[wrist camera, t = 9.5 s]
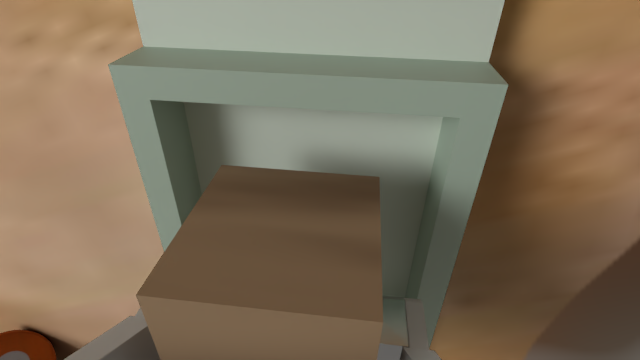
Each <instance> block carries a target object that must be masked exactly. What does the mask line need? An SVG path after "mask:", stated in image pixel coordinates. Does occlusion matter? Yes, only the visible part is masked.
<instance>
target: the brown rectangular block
mask: <svg viewBox="0 0 640 360" xmlns="http://www.w3.org/2000/svg"><path fill="white" fill-rule="evenodd" d="M136 297H137V299H138V302H139V305H140V307H141V310H142V312H143V315H144V318H145V320H146V323H147V326H148V328H149V331H150V333H151V336H152V339H153V341H154V344H155V347H156V349H157V352H158V354H159V357H160V360H377V356H378V350H379V344H380V338H381V332H382V326H383V298H382V258H381V218H380V178H379V177H376V176H362V175H349V174H336V173H323V172H310V171H296V170H283V169H270V168H257V167H244V166H230V165H221V167H220V168H219V170H218V171H217V173H216V174H215V176H214V177H213V179H212V180H211V182H210V183H209V185H208V186H207V188H206V189H205V191H204V192H203V194H202V195H201V197H200V198H199V200H198V202H197V203H196V205H195V206H194V208H193V209H192V211H191V212H190V214H189V215H188V217H187V218H186V220H185V221H184V223H183V224H182V226H181V227H180V229H179V230H178V232H177V234H176V235H175V237H174V238H173V240H172V241H171V243H170V244H169V246H168V247H167V249H166V250H165V252H164V253H163V255H162V256H161V258H160V259H159V261H158V262H157V264H156V265H155V267H154V269H153V270H152V272H151V273H150V275H149V276H148V278H147V279H146V281H145V282H144V284H143V285H142V287H141V288H140V290H139V291H138V293H137V294H136Z"/></svg>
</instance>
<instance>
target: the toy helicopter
mask: <svg viewBox="0 0 640 360" xmlns="http://www.w3.org/2000/svg"><path fill="white" fill-rule="evenodd" d="M0 360H56V354H55V350H54V348H53V346H52V344H51V343H50V341H49V340H48V339H46V338H45V337H44V336H42V335H40V334H38V333H36V332H32V331H27V330H13V331H7V332H3V333H0Z"/></svg>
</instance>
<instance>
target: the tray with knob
mask: <svg viewBox="0 0 640 360" xmlns="http://www.w3.org/2000/svg"><path fill="white" fill-rule="evenodd" d="M132 1H133V5H134V10H135V14H136V18H137V22H138V26H139V30H140V34H141V39H142V43H143V47H141V48H139V49H138V50H136V51H134V52H132V53H130V54H128V55H126V56H124V57H122V58H120V59H118V60H116V61H114V62H112V63H110V64H108V66H109V69H110V72H111V76H112V79H113V82H114V86H115V89H116V93H117V96H118V99H119V103H120V106H121V109H122V113H123V116H124V119H125V123H126V126H127V129H128V133H129V136H130V139H131V143H132V146H133V149H134V153H135V156H136V159H137V163H138V166H139V169H140V173H141V176H142V179H143V183H144V186H145V189H146V193H147V196H148V199H149V203H150V206H151V209H152V213H153V216H154V219H155V223H156V226H157V229H158V233H159V236H160V239H161V243H162V246H163V249H164V252H165V250H166V249H167V247H168V246H169V244H170V243H171V241H172V240H173V238H174V237H175V235H176V234H177V232H178V230H179V229H180V227H181V226H182V224H183V223H184V221H185V220H186V218H187V217H188V215H189V214H190V212H191V211H192V209H193V208H194V206H195V205H196V203H197V202H198V200H199V198H200V197H201V195H202V194H203V192H204V191H205V189H206V188H207V186H208V185H209V183H210V182H211V180H212V179H213V177H214V176H215V174H216V173H217V171H218V170H219V168H220V167H221V165H230V166H244V167H257V168H270V169H283V170H296V171H310V172H323V173H336V174H349V175H362V176H376V177H379V178H380V218H381V258H382V295H383V296H394V297H403V298H411V299H421V301H422V302H423V308H424V315H425V323H426V330H427V337H428V344H429V348H430V344H431V341H432V338H433V334H434V331H435V328H436V324H437V321H438V318H439V314H440V311H441V308H442V304H443V301H444V298H445V294H446V291H447V288H448V284H449V281H450V278H451V274H452V271H453V268H454V264H455V261H456V258H457V254H458V251H459V248H460V244H461V241H462V238H463V234H464V231H465V228H466V224H467V221H468V218H469V214H470V211H471V208H472V204H473V201H474V198H475V194H476V191H477V188H478V185H479V181H480V178H481V175H482V171H483V168H484V165H485V161H486V158H487V155H488V151H489V148H490V145H491V141H492V138H493V135H494V131H495V128H496V125H497V121H498V118H499V115H500V111H501V108H502V105H503V101H504V98H505V95H506V91H507V88H508V84H507V83H506V81H505V80H504V79H503V78H502V77H501V76H500V75H499V73H498V72H497V71H496V70H495V69H494V68H493V67H492V65H491V64H490V63H489V59H490V55H491V51H492V48H493V44H494V40H495V36H496V32H497V29H498V25H499V21H500V17H501V13H502V9H503V6H504V2H505V0H132Z"/></svg>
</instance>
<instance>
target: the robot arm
mask: <svg viewBox="0 0 640 360" xmlns="http://www.w3.org/2000/svg"><path fill="white" fill-rule="evenodd" d="M382 298H383V326H382V332H381V338H380V344H379V350H378V356H377V360H442V359H441V358H440V357H439V356H438V354H437V353H436V352H435V351H433V350H429V344H428V337H427V330H426V323H425V315H424V308H423V302H422V301H421V299H411V298H403V297H394V296H383V295H382ZM64 360H160V357H159V354H158V352H157V349H156V347H155V344H154V341H153V339H152V336H151V333H150V331H149V328H148V326H147V323H146V320H145V318H144V315H143V312H142V310H141V307H140V309H139V310H138V312H137V314H136V315H135V316H129V317H128V318H126V319H125V320H123V321H122V322H120V323H119V324H117V325H115V326H114V327H112V328H111V329H109V330H108V331H106V332H105V333H103V334H102V335H100V336H99V337H97V338H96V339H94V340H93V341H91V342H90V343H88V344H87V345H85V346H83V347H82V348H80V349H79V350H77V351H76V352H74V353H73V354H71V355H70V356H68V357H67V358H65V359H64Z"/></svg>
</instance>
